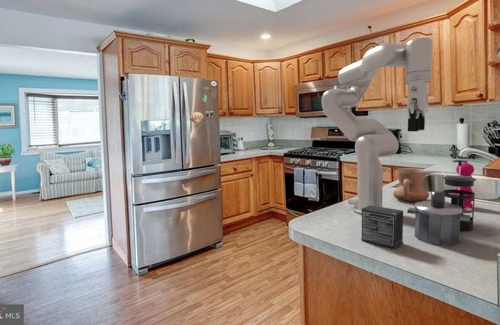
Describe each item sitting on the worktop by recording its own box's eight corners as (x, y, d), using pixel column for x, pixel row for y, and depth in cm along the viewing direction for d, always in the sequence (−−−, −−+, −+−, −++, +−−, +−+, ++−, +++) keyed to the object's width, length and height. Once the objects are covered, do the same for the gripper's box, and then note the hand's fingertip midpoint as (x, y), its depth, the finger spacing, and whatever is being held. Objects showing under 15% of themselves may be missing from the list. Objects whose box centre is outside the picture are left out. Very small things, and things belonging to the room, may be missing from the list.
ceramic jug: (399, 194, 150) (399, 166, 148) (432, 198, 140) (433, 168, 138) (387, 203, 137) (387, 172, 135) (422, 207, 127) (423, 174, 125)
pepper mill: (477, 209, 121) (480, 160, 118) (457, 209, 122) (459, 160, 120) (468, 205, 128) (471, 158, 125) (449, 204, 129) (451, 158, 127)
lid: (410, 212, 92) (411, 193, 92) (418, 202, 102) (419, 186, 101) (459, 218, 85) (461, 199, 84) (463, 208, 94) (464, 190, 93)
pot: (403, 238, 95) (404, 211, 94) (411, 227, 104) (412, 202, 103) (467, 250, 85) (468, 219, 84) (469, 237, 94) (471, 209, 93)
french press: (444, 219, 111) (447, 157, 108) (476, 225, 104) (480, 159, 101) (436, 228, 103) (439, 161, 100) (470, 234, 96) (474, 163, 93)
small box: (403, 243, 92) (404, 209, 90) (395, 250, 87) (396, 215, 86) (369, 235, 99) (370, 204, 98) (360, 240, 95) (360, 208, 93)
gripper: (426, 74, 90) (424, 131, 92) (435, 79, 103) (433, 129, 106) (399, 77, 95) (397, 132, 97) (410, 81, 108) (409, 129, 110)
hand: (416, 130), depth 101 cm, fingers open, 9 cm apart
